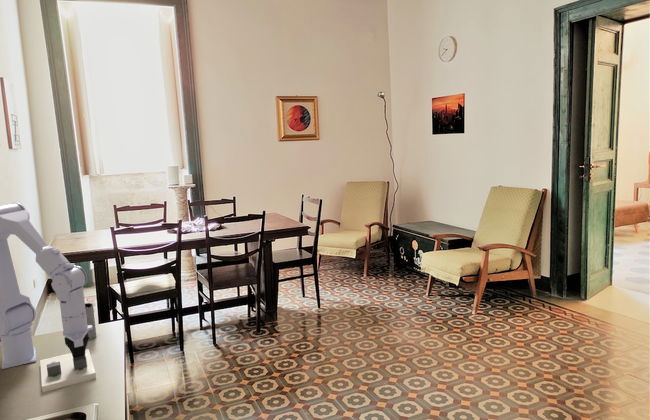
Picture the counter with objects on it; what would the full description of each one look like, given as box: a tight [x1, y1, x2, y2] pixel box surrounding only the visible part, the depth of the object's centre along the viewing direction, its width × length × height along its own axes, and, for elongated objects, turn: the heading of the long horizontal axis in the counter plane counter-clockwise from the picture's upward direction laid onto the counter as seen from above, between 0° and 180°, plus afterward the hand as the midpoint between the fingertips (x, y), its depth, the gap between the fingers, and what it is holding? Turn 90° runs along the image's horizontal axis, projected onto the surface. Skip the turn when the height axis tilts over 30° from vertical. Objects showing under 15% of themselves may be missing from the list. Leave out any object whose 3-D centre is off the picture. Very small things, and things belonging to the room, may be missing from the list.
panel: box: [39, 348, 97, 393], centre depth 128 cm, size 16×12×2 cm
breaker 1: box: [47, 362, 61, 377], centre depth 124 cm, size 2×3×2 cm, turn 121°
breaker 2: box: [73, 355, 87, 370], centre depth 127 cm, size 2×3×2 cm, turn 121°
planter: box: [85, 302, 97, 341], centre depth 148 cm, size 4×4×10 cm
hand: (79, 361), depth 129 cm, fingers closed
